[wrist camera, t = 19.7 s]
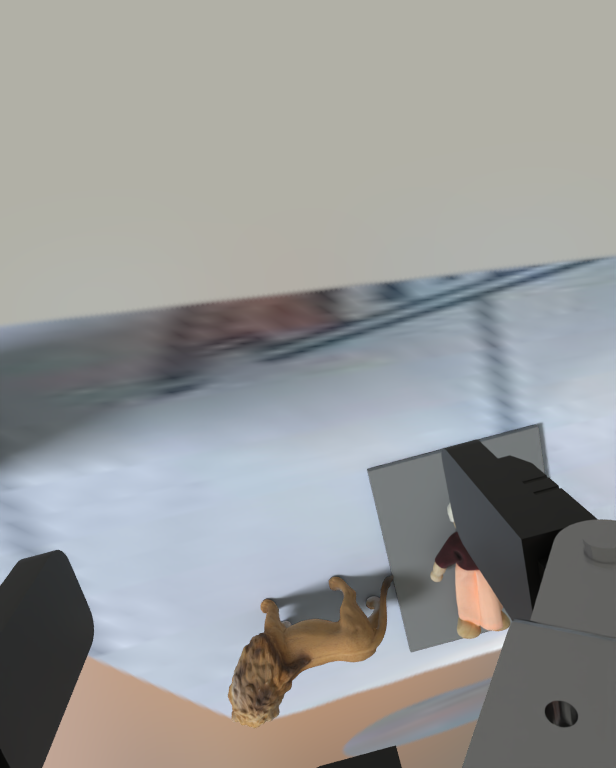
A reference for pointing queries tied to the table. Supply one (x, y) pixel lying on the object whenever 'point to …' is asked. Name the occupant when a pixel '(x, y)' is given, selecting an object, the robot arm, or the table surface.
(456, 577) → the grandmother figurine
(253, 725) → the lion figurine
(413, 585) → the mat
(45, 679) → the robot arm
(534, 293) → the table surface
